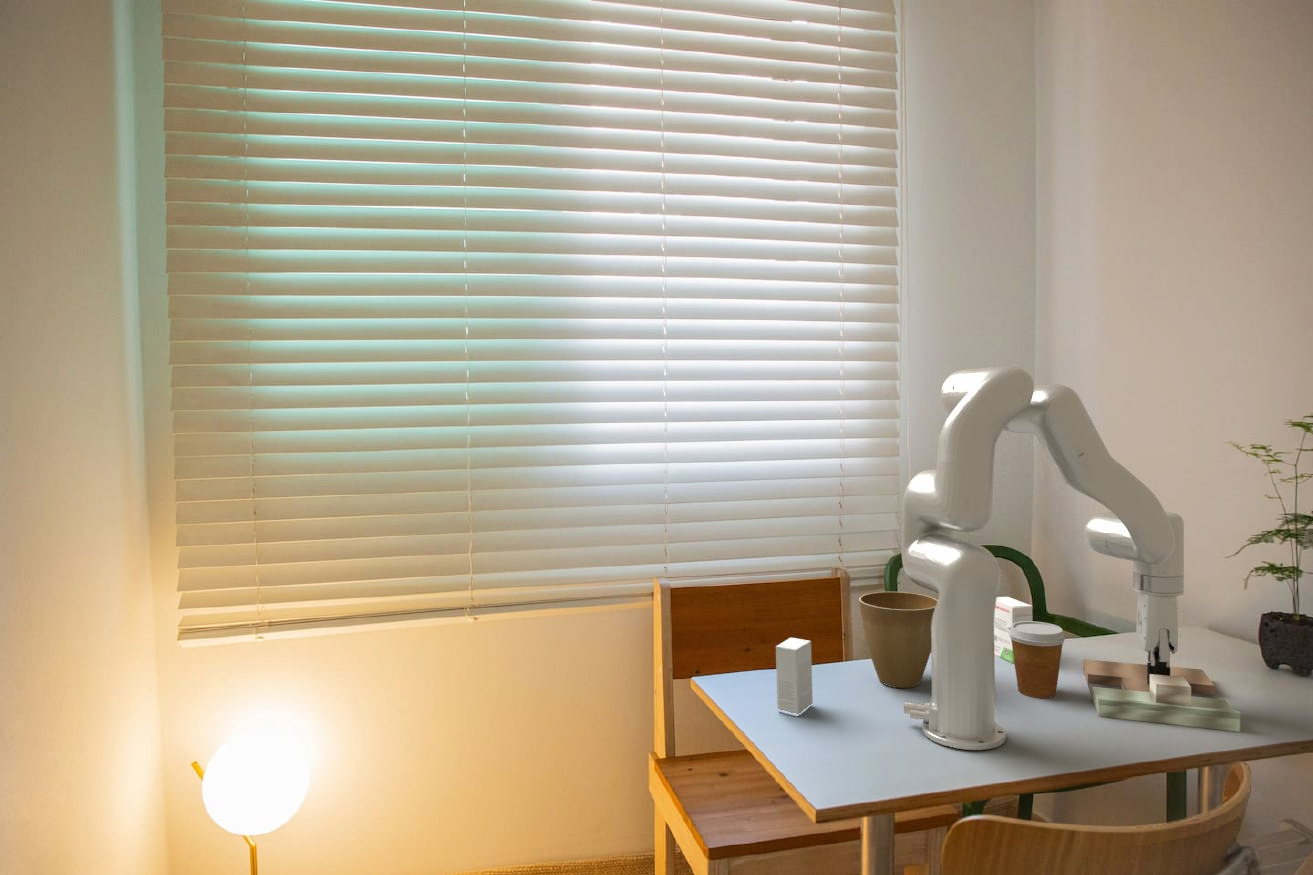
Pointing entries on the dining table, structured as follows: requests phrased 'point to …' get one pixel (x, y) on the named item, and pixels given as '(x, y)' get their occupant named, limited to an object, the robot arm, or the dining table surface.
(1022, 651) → the disposable coffee cup
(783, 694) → the skincare box
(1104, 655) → the dining table surface
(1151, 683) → the block
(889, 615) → the plant pot
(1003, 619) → the ink box
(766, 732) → the dining table surface
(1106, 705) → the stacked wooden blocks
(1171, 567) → the robot arm
